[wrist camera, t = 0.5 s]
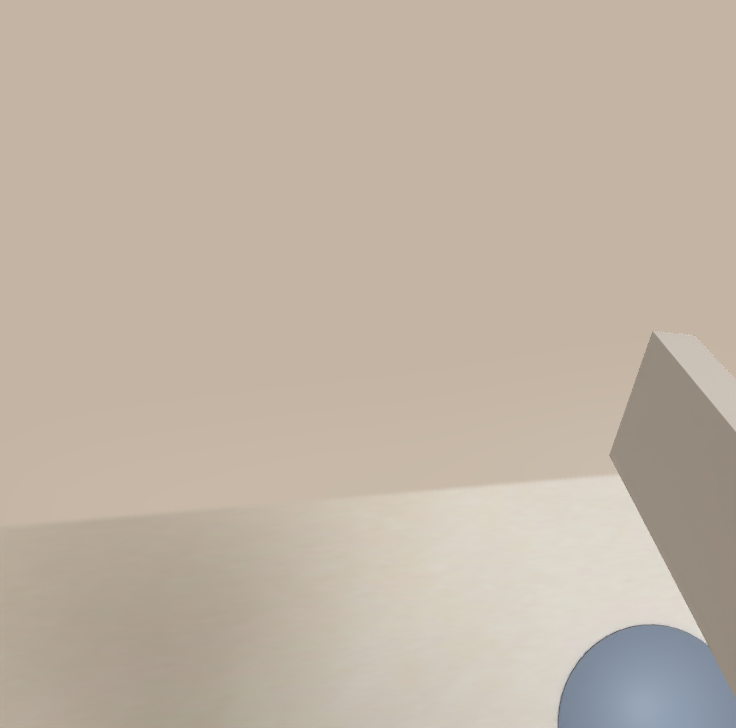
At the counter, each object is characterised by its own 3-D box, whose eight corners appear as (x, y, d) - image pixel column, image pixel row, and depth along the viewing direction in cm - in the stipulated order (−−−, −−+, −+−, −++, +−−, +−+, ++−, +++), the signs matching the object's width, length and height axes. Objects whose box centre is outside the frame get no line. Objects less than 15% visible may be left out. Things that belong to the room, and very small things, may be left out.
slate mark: (777, 761, 48) (779, 762, 47) (615, 859, 46) (616, 861, 46) (686, 590, 48) (688, 591, 48) (524, 683, 47) (525, 685, 47)
